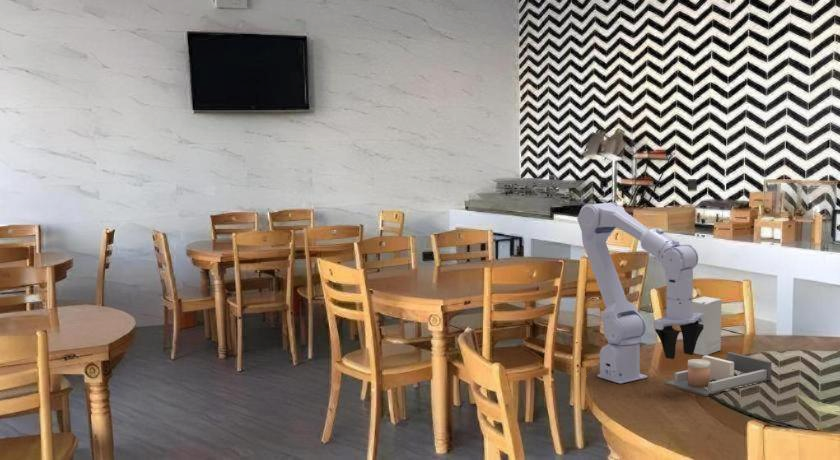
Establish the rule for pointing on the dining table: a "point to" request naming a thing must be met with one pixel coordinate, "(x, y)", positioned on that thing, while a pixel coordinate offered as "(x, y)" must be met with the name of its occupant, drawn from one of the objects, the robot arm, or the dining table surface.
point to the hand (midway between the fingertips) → (679, 356)
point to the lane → (750, 374)
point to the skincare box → (708, 325)
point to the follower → (720, 368)
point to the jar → (698, 372)
